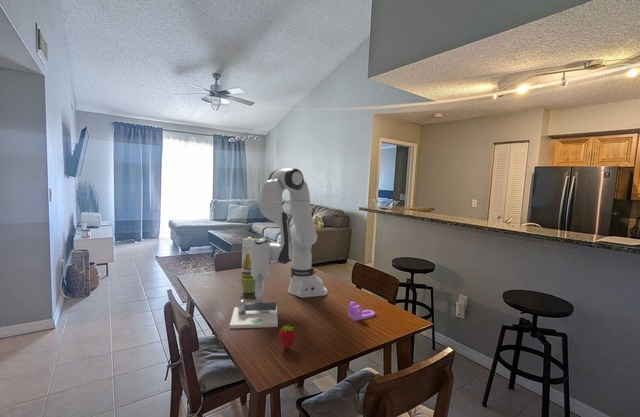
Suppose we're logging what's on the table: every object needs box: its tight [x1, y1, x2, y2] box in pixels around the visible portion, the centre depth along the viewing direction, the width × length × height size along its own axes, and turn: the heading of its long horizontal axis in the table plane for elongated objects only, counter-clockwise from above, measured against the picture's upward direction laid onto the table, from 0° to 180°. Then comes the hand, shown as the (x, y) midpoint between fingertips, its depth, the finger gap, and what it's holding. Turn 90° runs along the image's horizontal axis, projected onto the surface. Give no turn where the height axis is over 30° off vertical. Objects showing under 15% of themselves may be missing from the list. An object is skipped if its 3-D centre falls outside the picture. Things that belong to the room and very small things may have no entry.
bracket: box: [347, 301, 376, 322], centre depth 143 cm, size 13×6×7 cm, turn 119°
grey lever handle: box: [237, 298, 277, 314], centre depth 138 cm, size 17×4×6 cm, turn 99°
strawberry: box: [278, 322, 297, 350], centre depth 113 cm, size 6×8×10 cm
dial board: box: [229, 305, 279, 329], centre depth 136 cm, size 20×18×2 cm
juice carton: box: [241, 236, 258, 274], centre depth 203 cm, size 9×8×24 cm
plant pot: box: [240, 273, 256, 294], centre depth 168 cm, size 9×9×9 cm
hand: (259, 299), depth 148 cm, fingers open, 8 cm apart
